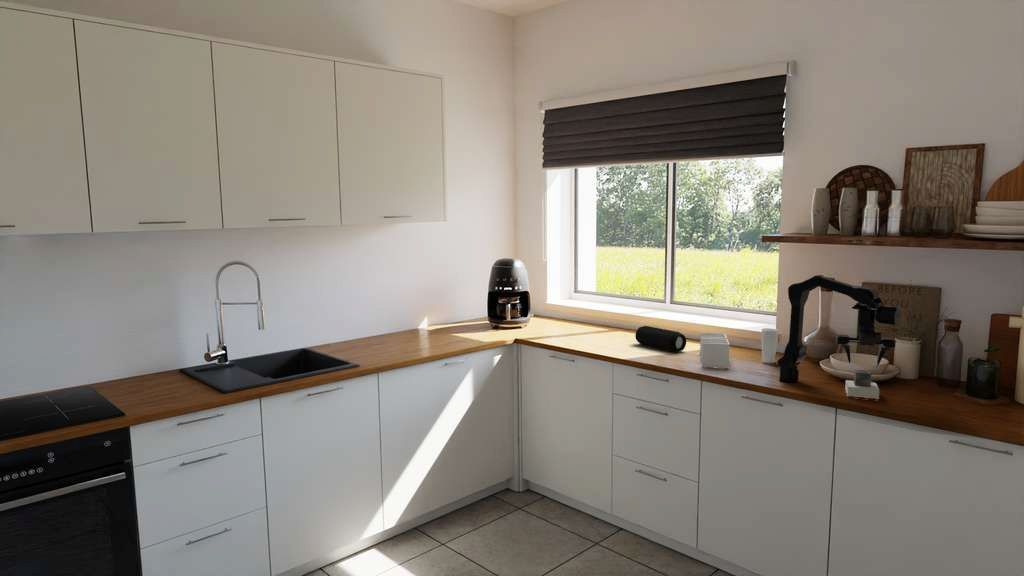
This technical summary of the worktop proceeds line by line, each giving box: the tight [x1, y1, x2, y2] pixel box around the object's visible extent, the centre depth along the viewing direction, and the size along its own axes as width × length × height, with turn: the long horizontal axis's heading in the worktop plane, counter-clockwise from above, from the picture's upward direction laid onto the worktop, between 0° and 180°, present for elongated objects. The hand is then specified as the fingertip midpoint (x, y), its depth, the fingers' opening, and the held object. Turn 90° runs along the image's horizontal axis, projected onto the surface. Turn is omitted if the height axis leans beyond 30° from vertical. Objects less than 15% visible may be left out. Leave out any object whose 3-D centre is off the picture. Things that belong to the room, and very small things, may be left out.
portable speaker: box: [634, 325, 687, 353], centre depth 319 cm, size 26×10×10 cm, turn 37°
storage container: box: [699, 332, 730, 369], centre depth 291 cm, size 25×11×11 cm, turn 166°
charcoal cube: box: [853, 369, 872, 387], centre depth 238 cm, size 5×5×5 cm
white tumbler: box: [760, 327, 779, 365], centre depth 289 cm, size 7×7×15 cm
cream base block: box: [844, 379, 880, 400], centre depth 238 cm, size 10×10×4 cm
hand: (863, 363), depth 237 cm, fingers open, 9 cm apart
